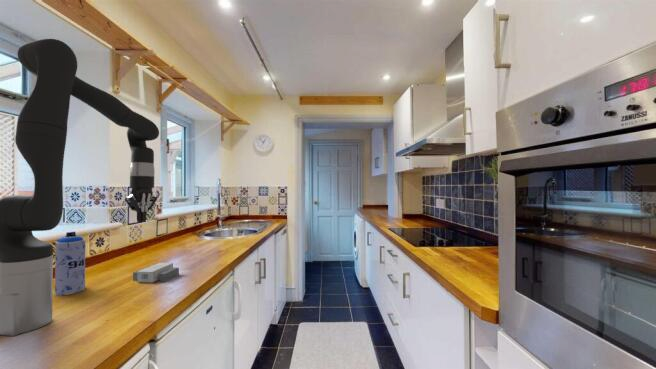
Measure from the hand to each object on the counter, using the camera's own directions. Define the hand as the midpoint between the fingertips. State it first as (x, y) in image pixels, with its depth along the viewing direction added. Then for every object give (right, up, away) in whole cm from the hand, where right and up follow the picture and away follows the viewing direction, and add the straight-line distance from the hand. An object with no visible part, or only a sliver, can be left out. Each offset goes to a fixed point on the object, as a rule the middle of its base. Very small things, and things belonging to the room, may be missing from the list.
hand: (141, 222), depth 101 cm
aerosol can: (-19, -22, -8) cm, 30 cm away
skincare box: (+1, -20, -1) cm, 20 cm away
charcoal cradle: (+2, -22, +5) cm, 23 cm away
